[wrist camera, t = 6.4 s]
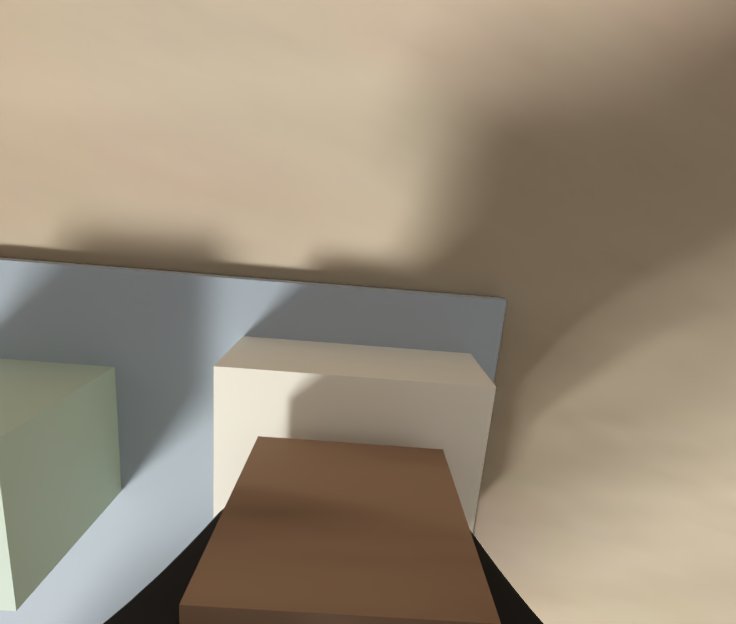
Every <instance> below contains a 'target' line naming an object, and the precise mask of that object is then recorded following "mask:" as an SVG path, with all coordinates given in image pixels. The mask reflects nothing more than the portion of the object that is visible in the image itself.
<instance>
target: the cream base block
mask: <svg viewBox="0 0 736 624" xmlns="http://www.w3.org/2000/svg"><path fill="white" fill-rule="evenodd" d="M495 392H496V386H495V385H494V384H493V382H492V381H491V380H490V378H489V377H488V376H487V374H486V373H485V372H484V371H483V369H482V368H481V367H480V365H479V364H478V363H477V361H476V360H475V359H474V358H473V356H472V355H471V354H470V353H458V352H445V351H432V350H419V349H406V348H393V347H380V346H366V345H353V344H340V343H327V342H314V341H301V340H288V339H275V338H262V337H249V336H243V337H242V338H241V339H240V340H239V341H238V342H237V343H236V344H235V345H234V346H233V347H232V348H231V349H230V350H229V351H228V352H227V353H226V354H225V355H224V356H223V357H222V358H221V359H220V360H219V361H218V362H217V363H216V364H215V365H214V478H213V519H214V517H215V516H216V515H217V514H218V513H219V512H220V511H221V510H222V509H224V508H225V506H226V504H227V502H228V499H229V497H230V495H231V493H232V491H233V489H234V487H235V484H236V482H237V480H238V478H239V476H240V474H241V472H242V470H243V467H244V465H245V463H246V461H247V459H248V457H249V455H250V452H251V450H252V448H253V446H254V444H255V442H256V440H257V438H258V436H262V437H276V438H290V439H304V440H318V441H332V442H346V443H360V444H374V445H388V446H402V447H416V448H430V449H443V451H444V454H445V457H446V460H447V463H448V466H449V469H450V472H451V475H452V478H453V481H454V484H455V487H456V490H457V493H458V496H459V499H460V502H461V505H462V508H463V511H464V514H465V517H466V520H467V523H468V526H469V529H470V531H471V532H472V533H473V528H474V522H475V516H476V509H477V503H478V497H479V491H480V485H481V478H482V472H483V466H484V460H485V454H486V448H487V441H488V435H489V429H490V423H491V417H492V410H493V404H494V398H495Z"/></svg>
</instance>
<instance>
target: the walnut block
mask: <svg viewBox="0 0 736 624" xmlns="http://www.w3.org/2000/svg"><path fill="white" fill-rule="evenodd" d="M179 624H501V622H500V619H499V616H498V613H497V610H496V607H495V604H494V601H493V598H492V595H491V592H490V589H489V586H488V583H487V580H486V577H485V574H484V571H483V568H482V565H481V562H480V559H479V556H478V553H477V550H476V547H475V544H474V541H473V538H472V535H471V532H470V529H469V526H468V523H467V520H466V517H465V514H464V511H463V508H462V505H461V502H460V499H459V496H458V493H457V490H456V487H455V484H454V481H453V478H452V475H451V472H450V469H449V466H448V463H447V460H446V457H445V454H444V451H443V449H430V448H416V447H402V446H388V445H374V444H360V443H346V442H332V441H318V440H304V439H290V438H276V437H262V436H258V438H257V440H256V442H255V444H254V446H253V448H252V450H251V452H250V455H249V457H248V459H247V461H246V463H245V465H244V467H243V470H242V472H241V474H240V476H239V478H238V480H237V482H236V484H235V487H234V489H233V491H232V493H231V495H230V497H229V499H228V502H227V504H226V506H225V508H224V510H223V512H222V514H221V516H220V519H219V521H218V523H217V525H216V527H215V529H214V531H213V533H212V536H211V538H210V540H209V542H208V544H207V546H206V548H205V551H204V553H203V555H202V557H201V559H200V561H199V563H198V565H197V568H196V570H195V572H194V574H193V576H192V578H191V580H190V583H189V585H188V587H187V589H186V591H185V593H184V595H183V597H182V600H181V602H180V604H179Z"/></svg>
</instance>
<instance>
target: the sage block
mask: <svg viewBox="0 0 736 624" xmlns="http://www.w3.org/2000/svg"><path fill="white" fill-rule="evenodd" d="M120 492H121V472H120V454H119V435H118V417H117V399H116V380H115V367H108V366H95V365H81V364H68V363H54V362H41V361H27V360H13V359H0V610H5V611H17V610H18V609H19V607H20V606H21V605H22V604H23V603H24V602H25V601H26V599H27V598H28V597H29V596H30V595H31V594H32V593H33V591H34V590H35V589H36V588H37V587H38V586H39V585H40V583H41V582H42V581H43V580H44V579H45V578H46V577H47V575H48V574H49V573H50V572H51V571H52V570H53V569H54V567H55V566H56V565H57V564H58V563H59V562H60V561H61V559H62V558H63V557H64V556H65V555H66V554H67V553H68V551H69V550H70V549H71V548H72V547H73V546H74V545H75V543H76V542H77V541H78V540H79V539H80V538H81V537H82V535H83V534H84V533H85V532H86V531H87V530H88V529H89V527H90V526H91V525H92V524H93V523H94V522H95V521H96V519H97V518H98V517H99V516H100V515H101V514H102V513H103V511H104V510H105V509H106V508H107V507H108V506H109V505H110V503H111V502H112V501H113V500H114V499H115V498H116V497H117V495H118V494H119V493H120Z"/></svg>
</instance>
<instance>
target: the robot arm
mask: <svg viewBox="0 0 736 624" xmlns="http://www.w3.org/2000/svg"><path fill="white" fill-rule="evenodd" d="M223 510H224V509H222V510H221V511H220V512H219V513H218V514H217V515H216V516H215V517H214V519H213V520H212V521H211V522H210V523H209V524H208V525H207V526H206V527H205V528H204V529H203V530H202V532H201V533H200V534H199V535H198V536H197V537H196V538H195V539H194V540H193V541H192V542H191V543H190V544H189V545H188V546H187V547H186V548H185V549H184V550H183V551H182V552H181V553H180V554H179V555H178V556H177V557H176V558H175V559H174V560H173V561H172V562H171V563H170V564H169V565H168V566H167V567H166V568H165V569H164V570H163V571H162V572H161V573H160V574H159V575H158V576H157V577H156V578H155V579H153V580H152V581H151V582H150V583H149V584H148V585H147V586H146V587H145V588H144V589H143V590H141V591H140V592H139V593H138V594H137V595H136V596H135V597H134V598H133V599H132V600H130V601H129V602H128V603H127V604H126V605H125V606H123V607H122V608H121V609H120V610H119V611H118V612H116V613H115V614H114V615H113V616H112V617H110V618H109V619H108V620H107V621H106V622H104V623H103V624H179V604H180V602H181V600H182V597H183V595H184V593H185V591H186V589H187V587H188V585H189V583H190V580H191V578H192V576H193V574H194V572H195V570H196V568H197V565H198V563H199V561H200V559H201V557H202V555H203V553H204V551H205V548H206V546H207V544H208V542H209V540H210V538H211V536H212V533H213V531H214V529H215V527H216V525H217V523H218V521H219V519H220V516H221V514H222V512H223ZM470 532H471V531H470ZM471 535H472V538H473V541H474V544H475V547H476V550H477V553H478V556H479V559H480V562H481V565H482V568H483V571H484V574H485V577H486V580H487V583H488V586H489V589H490V592H491V595H492V598H493V601H494V604H495V607H496V610H497V613H498V616H499V619H500V622H501V624H543V623H542V622H541V620H540V619H539V618H538V617H537V616H536V615H535V614H534V612H533V611H532V610H531V609H530V608H529V606H528V605H527V604H526V603H525V602H524V600H523V599H522V598H521V597H520V596H519V594H518V593H517V592H516V590H515V589H514V588H513V587H512V585H511V584H510V583H509V582H508V580H507V579H506V578H505V577H504V575H503V574H502V573H501V571H500V570H499V569H498V568H497V566H496V565H495V563H494V562H493V561H492V559H491V558H490V557H489V555H488V554H487V553H486V551H485V550H484V549H483V547H482V546H481V544H480V543H479V542H478V540H477V539H476V537H475V536H474V535H473V533H472V532H471Z"/></svg>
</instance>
